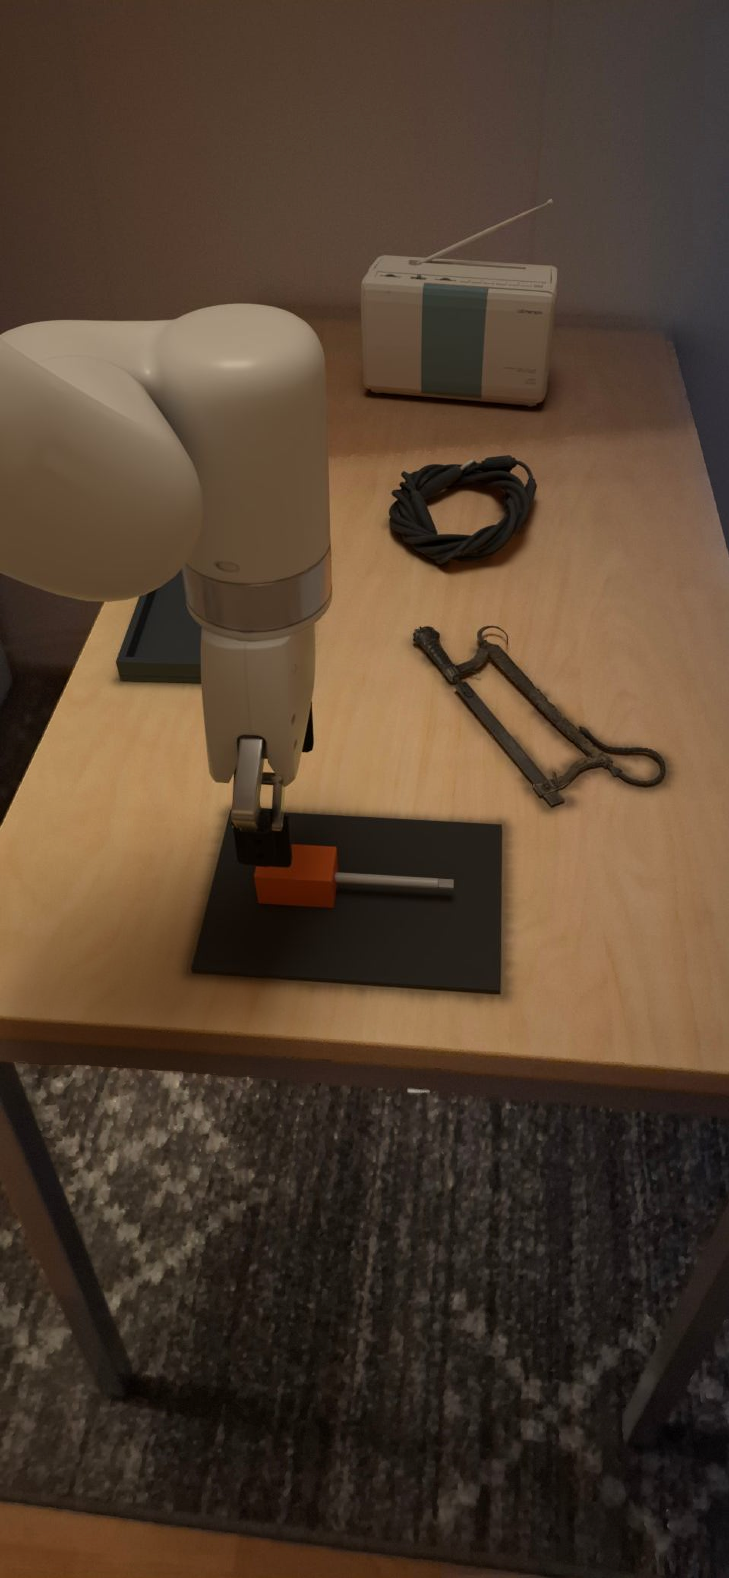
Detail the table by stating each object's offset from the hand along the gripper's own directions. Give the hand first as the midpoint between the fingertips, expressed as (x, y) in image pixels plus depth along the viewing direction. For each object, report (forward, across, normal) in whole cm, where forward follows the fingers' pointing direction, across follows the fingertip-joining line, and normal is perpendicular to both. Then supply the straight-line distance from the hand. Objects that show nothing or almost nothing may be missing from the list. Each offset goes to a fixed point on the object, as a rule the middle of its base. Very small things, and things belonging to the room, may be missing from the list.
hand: (278, 802), depth 65 cm
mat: (+10, 0, +5) cm, 11 cm away
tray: (+9, -31, -10) cm, 34 cm away
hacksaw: (+9, -21, +17) cm, 29 cm away
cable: (+9, -47, +10) cm, 49 cm away
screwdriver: (+9, -1, +5) cm, 10 cm away
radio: (+9, -74, +9) cm, 76 cm away
